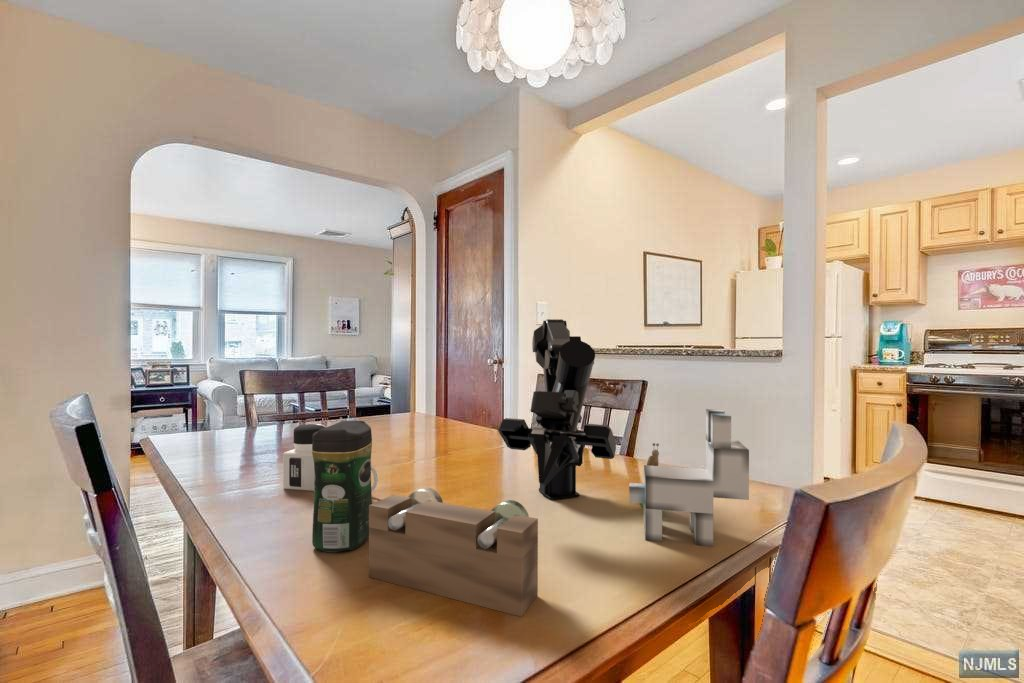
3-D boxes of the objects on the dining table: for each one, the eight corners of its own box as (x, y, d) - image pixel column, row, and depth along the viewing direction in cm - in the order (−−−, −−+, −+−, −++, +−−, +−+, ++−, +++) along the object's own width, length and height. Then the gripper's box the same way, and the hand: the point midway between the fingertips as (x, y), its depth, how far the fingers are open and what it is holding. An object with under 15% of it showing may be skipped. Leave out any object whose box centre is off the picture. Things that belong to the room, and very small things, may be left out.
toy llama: (628, 521, 85) (629, 406, 85) (737, 531, 81) (738, 410, 81) (629, 538, 78) (629, 412, 78) (748, 549, 74) (749, 416, 74)
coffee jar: (332, 528, 82) (332, 417, 82) (378, 530, 81) (379, 417, 81) (302, 553, 72) (302, 427, 72) (354, 555, 71) (355, 428, 71)
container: (315, 491, 102) (315, 428, 102) (282, 489, 103) (282, 427, 103) (335, 481, 109) (336, 422, 109) (304, 479, 111) (305, 421, 111)
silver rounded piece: (413, 520, 71) (414, 485, 71) (443, 525, 68) (443, 489, 68) (378, 539, 64) (378, 501, 64) (409, 546, 61) (410, 506, 61)
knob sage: (494, 535, 65) (494, 497, 65) (529, 541, 63) (529, 502, 63) (465, 558, 58) (465, 516, 58) (503, 566, 56) (503, 522, 56)
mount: (393, 561, 69) (393, 494, 69) (537, 595, 60) (537, 518, 60) (368, 577, 65) (369, 505, 65) (521, 616, 56) (521, 532, 56)
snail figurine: (670, 508, 92) (670, 444, 92) (665, 519, 86) (666, 451, 86) (641, 503, 95) (641, 441, 95) (634, 514, 89) (634, 448, 89)
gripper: (502, 370, 83) (469, 449, 74) (610, 373, 75) (590, 462, 65) (522, 410, 91) (494, 487, 81) (623, 416, 82) (606, 502, 73)
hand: (542, 484), depth 75 cm, fingers closed
